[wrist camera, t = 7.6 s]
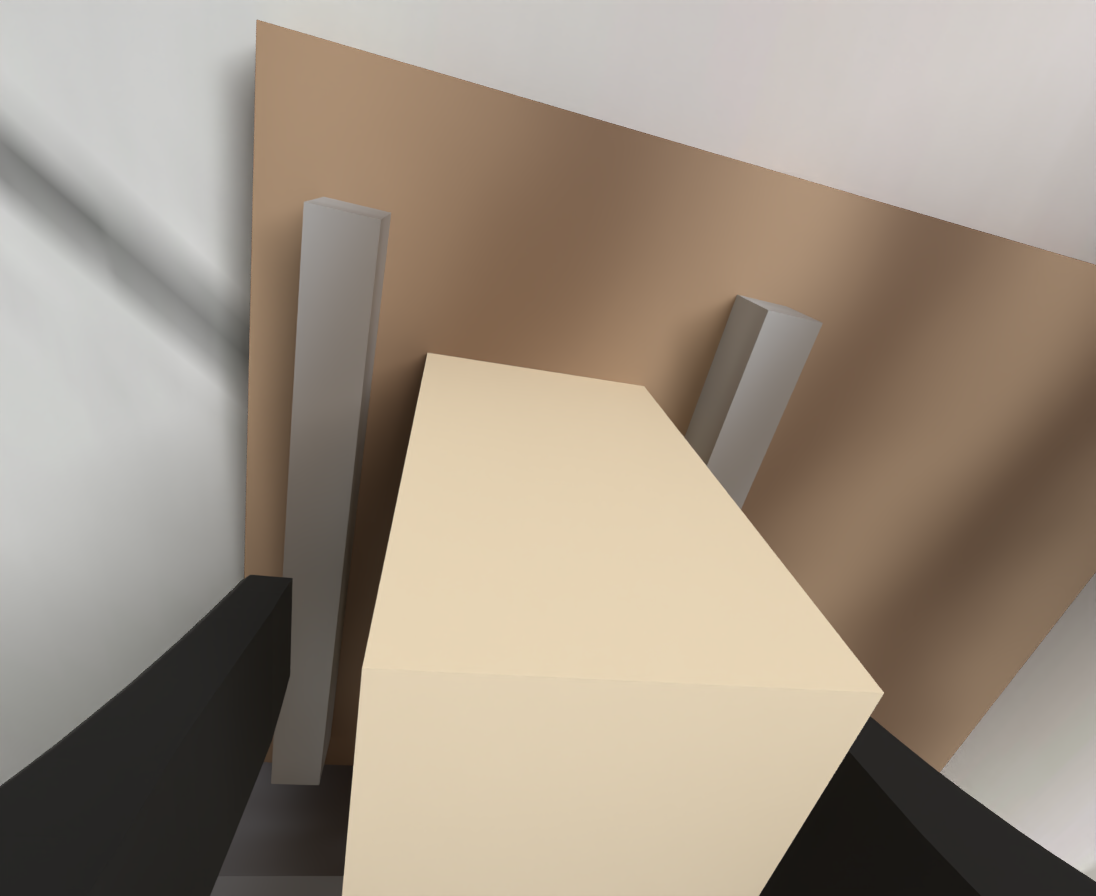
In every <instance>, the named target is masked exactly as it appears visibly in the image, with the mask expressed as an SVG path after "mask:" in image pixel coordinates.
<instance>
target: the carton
mask: <svg viewBox="0 0 1096 896" xmlns="http://www.w3.org/2000/svg"><path fill="white" fill-rule="evenodd" d="M883 694H884V692H883V691H882V690H881V688H880V687H879V686H878V684H877V683H876V682H875V681H874V679H873V678H872V677H871V675H870V674H869V673H868V672H867V670H866V669H865V668H864V667H863V665H862V664H861V663H860V661H859V660H858V659H857V658H856V656H855V655H854V654H853V652H852V651H851V650H850V649H849V647H848V646H847V645H846V644H845V642H844V641H843V640H842V638H841V637H840V636H839V635H838V633H837V632H836V631H835V629H834V628H833V627H832V626H831V624H830V623H829V622H828V621H827V619H826V618H825V617H824V615H823V614H822V613H821V612H820V610H819V609H818V608H817V606H816V605H815V604H814V603H813V601H812V600H811V599H810V598H809V596H808V595H807V594H806V592H805V591H804V590H803V589H802V587H801V586H800V585H799V583H798V582H797V581H796V580H795V578H794V577H793V576H792V575H791V573H790V572H789V571H788V569H787V568H786V567H785V566H784V564H783V563H782V562H781V560H780V559H779V558H778V557H777V555H776V554H775V553H774V552H773V550H772V549H771V548H770V546H769V545H768V544H767V543H766V541H765V540H764V539H763V537H762V536H761V535H760V534H759V532H758V531H757V530H756V529H755V527H754V526H753V525H752V523H751V522H750V521H749V520H748V518H747V517H746V516H745V514H744V513H743V512H742V511H741V509H740V508H739V507H738V505H737V504H736V503H735V502H734V500H733V499H732V498H731V497H730V495H729V494H728V493H727V491H726V490H725V489H724V488H723V486H722V485H721V484H720V482H719V481H718V480H717V479H716V477H715V476H714V475H713V474H712V472H711V471H710V470H709V468H708V467H707V466H706V465H705V463H704V462H703V461H702V459H701V458H700V457H699V456H698V454H697V453H696V452H695V451H694V449H693V448H692V447H691V445H690V444H689V443H688V442H687V440H686V439H685V438H684V436H683V435H682V434H681V433H680V431H679V430H678V429H677V428H676V426H675V425H674V424H673V422H672V421H671V420H670V419H669V417H668V416H667V415H666V413H665V412H664V411H663V410H662V408H661V407H660V406H659V405H658V403H657V402H656V401H655V399H654V398H653V397H652V396H651V394H650V393H649V392H648V390H647V389H646V388H645V387H644V386H639V385H633V384H626V383H620V382H613V381H607V380H600V379H594V378H587V377H581V376H575V375H568V374H562V373H555V372H549V371H542V370H536V369H530V368H523V367H517V366H510V365H504V364H497V363H491V362H484V361H478V360H472V359H465V358H459V357H452V356H446V355H439V354H433V353H427V358H426V363H425V367H424V372H423V377H422V382H421V387H420V392H419V396H418V401H417V406H416V411H415V416H414V420H413V425H412V430H411V435H410V440H409V445H408V449H407V454H406V459H405V464H404V469H403V474H402V478H401V483H400V488H399V493H398V498H397V502H396V507H395V512H394V517H393V522H392V527H391V531H390V536H389V541H388V546H387V551H386V556H385V560H384V565H383V570H382V575H381V580H380V584H379V589H378V594H377V599H376V604H375V609H374V613H373V618H372V623H371V628H370V633H369V638H368V642H367V647H366V652H365V657H364V662H363V666H362V675H361V687H360V698H359V709H358V721H357V732H356V743H355V754H354V766H353V777H352V788H351V800H350V811H349V822H348V833H347V845H346V856H345V867H344V879H343V890H342V896H759V895H760V893H761V891H762V890H763V888H764V887H765V885H766V883H767V882H768V880H769V878H770V877H771V875H772V874H773V872H774V870H775V869H776V867H777V866H778V864H779V862H780V861H781V859H782V857H783V856H784V854H785V853H786V851H787V849H788V848H789V846H790V844H791V843H792V841H793V840H794V838H795V836H796V835H797V833H798V832H799V830H800V828H801V827H802V825H803V823H804V822H805V820H806V819H807V817H808V815H809V814H810V812H811V811H812V809H813V807H814V806H815V804H816V802H817V801H818V799H819V798H820V796H821V794H822V793H823V791H824V789H825V788H826V786H827V785H828V783H829V781H830V780H831V778H832V777H833V775H834V773H835V772H836V770H837V768H838V767H839V765H840V764H841V762H842V760H843V759H844V757H845V756H846V754H847V752H848V751H849V749H850V747H851V746H852V744H853V743H854V741H855V739H856V738H857V736H858V734H859V733H860V731H861V730H862V728H863V726H864V725H865V723H866V722H867V720H868V718H869V717H870V715H871V713H872V712H873V710H874V709H875V707H876V705H877V704H878V702H879V701H880V699H881V697H882V696H883Z"/></svg>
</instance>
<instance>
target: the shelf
mask: <svg viewBox="0 0 1096 896" xmlns="http://www.w3.org/2000/svg"><path fill="white" fill-rule="evenodd" d="M427 353H433V354H439V355H446V356H452V357H459V358H465V359H472V360H478V361H484V362H491V363H497V364H504V365H510V366H517V367H523V368H530V369H536V370H542V371H549V372H555V373H562V374H568V375H575V376H581V377H587V378H594V379H600V380H607V381H613V382H620V383H626V384H633V385H639V386H644V387H645V388H646V389H647V390H648V392H649V393H650V394H651V396H652V397H653V398H654V399H655V401H656V402H657V403H658V405H659V406H660V407H661V408H662V410H663V411H664V412H665V413H666V415H667V416H668V417H669V419H670V420H671V421H672V422H673V424H674V425H675V426H676V428H677V429H678V430H679V431H680V433H681V434H682V435H683V436H684V438H685V439H686V440H687V442H688V443H689V444H690V445H691V447H692V448H693V449H694V451H695V452H696V453H697V454H698V456H699V457H700V458H701V459H702V461H703V462H704V463H705V465H706V466H707V467H708V468H709V470H710V471H711V472H712V474H713V475H714V476H715V477H716V479H717V480H718V481H719V482H720V484H721V485H722V486H723V488H724V489H725V490H726V491H727V493H728V494H729V495H730V497H731V498H732V499H733V500H734V502H735V503H736V504H737V505H738V507H739V508H740V509H741V511H742V512H743V513H744V514H745V516H746V517H747V518H748V520H749V521H750V522H751V523H752V525H753V526H754V527H755V529H756V530H757V531H758V532H759V534H760V535H761V536H762V537H763V539H764V540H765V541H766V543H767V544H768V545H769V546H770V548H771V549H772V550H773V552H774V553H775V554H776V555H777V557H778V558H779V559H780V560H781V562H782V563H783V564H784V566H785V567H786V568H787V569H788V571H789V572H790V573H791V575H792V576H793V577H794V578H795V580H796V581H797V582H798V583H799V585H800V586H801V587H802V589H803V590H804V591H805V592H806V594H807V595H808V596H809V598H810V599H811V600H812V601H813V603H814V604H815V605H816V606H817V608H818V609H819V610H820V612H821V613H822V614H823V615H824V617H825V618H826V619H827V621H828V622H829V623H830V624H831V626H832V627H833V628H834V629H835V631H836V632H837V633H838V635H839V636H840V637H841V638H842V640H843V641H844V642H845V644H846V645H847V646H848V647H849V649H850V650H851V651H852V652H853V654H854V655H855V656H856V658H857V659H858V660H859V661H860V663H861V664H862V665H863V667H864V668H865V669H866V670H867V672H868V673H869V674H870V675H871V677H872V678H873V679H874V681H875V682H876V683H877V684H878V686H879V687H880V688H881V690H882V691H883V692H884V694H883V696H882V697H881V699H880V701H879V702H878V704H877V705H876V707H875V709H874V710H873V712H872V713H871V715H870V716H871V717H872V718H873V719H874V720H876V721H877V722H878V723H879V724H880V725H881V726H883V727H884V728H885V729H886V730H887V731H889V732H890V733H891V734H892V735H893V736H895V737H896V738H897V739H898V740H900V741H901V742H902V743H903V744H905V745H906V746H907V747H908V748H910V749H911V750H912V751H913V752H914V753H916V754H917V755H918V756H919V757H921V758H922V759H923V760H924V761H926V762H927V763H928V764H929V765H931V766H932V767H933V768H934V769H936V770H937V771H938V772H939V773H940V771H941V770H942V769H943V767H944V766H945V765H946V764H947V762H948V761H949V760H950V758H951V757H952V756H953V755H954V753H955V752H956V751H957V749H958V748H959V747H960V746H961V744H962V743H963V742H964V740H965V739H966V738H967V737H968V735H969V734H970V733H971V732H972V730H973V729H974V728H975V726H976V725H977V724H978V723H979V721H980V720H981V719H982V717H983V716H984V715H985V714H986V712H987V711H988V710H989V708H990V707H991V706H992V705H993V703H994V702H995V701H996V699H997V698H998V697H999V696H1000V694H1001V693H1002V692H1003V690H1004V689H1005V688H1006V687H1007V685H1008V684H1009V683H1010V681H1011V680H1012V679H1013V678H1014V676H1015V675H1016V674H1017V672H1018V671H1019V670H1020V669H1021V667H1022V666H1023V665H1024V663H1025V662H1026V661H1027V660H1028V658H1029V657H1030V656H1031V654H1032V653H1033V652H1034V651H1035V649H1036V648H1037V647H1038V645H1039V644H1040V643H1041V642H1042V640H1043V639H1044V638H1045V636H1046V635H1047V634H1048V633H1049V631H1050V630H1051V629H1052V627H1053V626H1054V625H1055V624H1056V622H1057V621H1058V620H1059V618H1060V617H1061V616H1062V615H1063V613H1064V612H1065V611H1066V609H1067V608H1068V607H1069V606H1070V604H1071V603H1072V602H1073V600H1074V599H1075V598H1076V597H1077V595H1078V594H1079V593H1080V592H1081V590H1082V589H1083V588H1084V586H1085V585H1086V584H1087V583H1088V581H1089V580H1090V579H1091V577H1092V576H1093V575H1094V574H1095V572H1096V265H1094V264H1091V263H1088V262H1084V261H1081V260H1077V259H1074V258H1070V257H1067V256H1064V255H1060V254H1057V253H1053V252H1050V251H1047V250H1043V249H1040V248H1036V247H1033V246H1029V245H1026V244H1023V243H1019V242H1016V241H1012V240H1009V239H1005V238H1002V237H999V236H995V235H992V234H988V233H985V232H982V231H978V230H975V229H971V228H968V227H964V226H961V225H958V224H954V223H951V222H947V221H944V220H940V219H937V218H934V217H930V216H927V215H923V214H920V213H917V212H913V211H910V210H906V209H903V208H899V207H896V206H893V205H889V204H886V203H882V202H879V201H875V200H872V199H869V198H865V197H862V196H858V195H855V194H852V193H848V192H845V191H841V190H838V189H834V188H831V187H828V186H824V185H821V184H817V183H814V182H810V181H807V180H804V179H800V178H797V177H793V176H790V175H787V174H783V173H780V172H776V171H773V170H769V169H766V168H763V167H759V166H756V165H752V164H749V163H745V162H742V161H739V160H735V159H732V158H728V157H725V156H722V155H718V154H715V153H711V152H708V151H704V150H701V149H698V148H694V147H691V146H687V145H684V144H681V143H677V142H674V141H670V140H667V139H663V138H660V137H657V136H653V135H650V134H646V133H643V132H639V131H636V130H633V129H629V128H626V127H622V126H619V125H616V124H612V123H609V122H605V121H602V120H598V119H595V118H592V117H588V116H585V115H581V114H578V113H574V112H571V111H568V110H564V109H561V108H557V107H554V106H551V105H547V104H544V103H540V102H537V101H533V100H530V99H527V98H523V97H520V96H516V95H513V94H509V93H506V92H503V91H499V90H496V89H492V88H489V87H486V86H482V85H479V84H475V83H472V82H468V81H465V80H462V79H458V78H455V77H451V76H448V75H444V74H441V73H438V72H434V71H431V70H427V69H424V68H421V67H417V66H414V65H410V64H407V63H403V62H400V61H397V60H393V59H390V58H386V57H383V56H379V55H376V54H373V53H369V52H366V51H362V50H359V49H356V48H352V47H349V46H345V45H342V44H338V43H335V42H332V41H328V40H325V39H321V38H318V37H315V36H311V35H308V34H304V33H301V32H297V31H294V30H291V29H287V28H284V27H280V26H277V25H273V24H270V23H267V22H263V21H260V20H257V24H256V69H255V114H254V159H253V204H252V249H251V294H250V338H249V383H248V428H247V473H246V518H245V563H244V579H245V578H246V577H247V576H249V575H261V576H274V577H286V578H293V583H292V625H291V666H290V678H289V682H288V685H287V689H286V693H285V696H284V700H283V704H282V707H281V711H280V714H279V718H278V721H277V725H276V728H275V732H274V735H273V739H272V742H271V744H270V747H269V750H268V752H267V755H266V757H265V760H264V762H263V765H262V767H261V770H260V772H259V775H258V778H257V780H256V783H255V785H254V788H253V790H252V793H251V795H250V798H249V800H248V803H247V805H246V808H245V810H244V813H243V815H242V818H241V820H240V823H239V825H238V828H237V830H236V833H235V835H234V838H233V840H232V843H231V845H230V848H229V850H228V853H227V855H226V858H225V860H224V863H223V865H222V868H221V870H220V873H219V875H218V878H217V880H216V883H215V885H214V888H213V890H212V893H211V895H210V896H342V890H343V879H344V867H345V856H346V845H347V833H348V822H349V811H350V800H351V788H352V777H353V766H354V754H355V743H356V732H357V721H358V709H359V698H360V687H361V675H362V666H363V662H364V657H365V652H366V647H367V642H368V638H369V633H370V628H371V623H372V618H373V613H374V609H375V604H376V599H377V594H378V589H379V584H380V580H381V575H382V570H383V565H384V560H385V556H386V551H387V546H388V541H389V536H390V531H391V527H392V522H393V517H394V512H395V507H396V502H397V498H398V493H399V488H400V483H401V478H402V474H403V469H404V464H405V459H406V454H407V449H408V445H409V440H410V435H411V430H412V425H413V420H414V416H415V411H416V406H417V401H418V396H419V392H420V387H421V382H422V377H423V372H424V367H425V363H426V358H427Z"/></svg>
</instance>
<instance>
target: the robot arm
mask: <svg viewBox="0 0 1096 896" xmlns="http://www.w3.org/2000/svg"><path fill="white" fill-rule="evenodd" d="M292 583H293V578H286V577H274V576H261V575H249V576H247V577H246V578H245V579H243V580H242V581H241V582H240V583H239V584H238V585H237V586H236V587H235V588H234V589H233V590H232V591H231V592H230V593H228V594H227V595H226V596H225V597H224V598H223V599H222V600H221V601H220V602H219V603H218V604H217V605H216V606H215V607H214V608H213V609H212V610H211V611H210V612H209V613H208V614H207V615H206V616H205V617H204V618H203V619H201V620H200V621H199V622H198V623H197V624H196V625H195V626H194V627H193V628H192V629H191V630H190V631H189V632H188V633H186V634H185V635H184V636H183V637H182V638H181V639H180V640H179V641H178V642H177V643H176V644H174V645H173V646H172V647H171V648H170V649H169V650H168V651H167V652H165V653H164V654H163V655H162V656H161V657H160V658H159V659H157V660H156V661H155V662H154V663H153V664H152V665H151V666H150V667H148V668H147V669H146V670H145V671H144V672H143V673H142V674H141V675H139V676H138V677H137V678H136V679H135V680H134V681H133V682H131V683H130V684H129V685H128V686H127V687H126V688H124V689H123V690H122V691H121V692H120V693H118V694H117V695H116V696H115V697H113V698H112V699H111V700H110V701H109V702H107V703H106V704H105V705H104V706H102V707H101V708H100V709H99V710H97V711H96V712H95V713H94V714H93V715H91V716H90V717H89V718H88V719H86V720H85V721H84V722H83V723H81V724H80V725H79V726H78V727H77V728H75V729H74V730H73V731H72V732H70V733H69V734H68V735H67V736H65V737H64V738H63V739H62V740H60V741H59V742H58V743H57V744H55V745H54V746H53V747H52V748H50V749H49V750H48V751H46V752H45V753H44V754H42V755H41V756H40V757H38V758H37V759H36V760H35V761H33V762H32V763H31V764H29V765H28V766H27V767H25V768H24V769H23V770H21V771H20V772H19V773H17V774H16V775H15V776H13V777H12V778H11V779H9V780H8V781H7V782H5V783H4V784H3V785H1V786H0V896H210V895H211V893H212V890H213V888H214V885H215V883H216V880H217V878H218V875H219V873H220V870H221V868H222V865H223V863H224V860H225V858H226V855H227V853H228V850H229V848H230V845H231V843H232V840H233V838H234V835H235V833H236V830H237V828H238V825H239V823H240V820H241V818H242V815H243V813H244V810H245V808H246V805H247V803H248V800H249V798H250V795H251V793H252V790H253V788H254V785H255V783H256V780H257V778H258V775H259V772H260V770H261V767H262V765H263V762H264V760H265V757H266V755H267V752H268V750H269V747H270V744H271V742H272V739H273V735H274V732H275V728H276V725H277V721H278V718H279V714H280V711H281V707H282V704H283V700H284V696H285V693H286V689H287V685H288V682H289V678H290V666H291V625H292ZM759 896H1096V882H1095V881H1094V880H1092V879H1091V878H1089V877H1088V876H1086V875H1085V874H1083V873H1081V872H1080V871H1078V870H1077V869H1075V868H1074V867H1072V866H1071V865H1069V864H1068V863H1066V862H1065V861H1063V860H1061V859H1060V858H1058V857H1057V856H1055V855H1054V854H1052V853H1051V852H1049V851H1048V850H1046V849H1045V848H1043V847H1042V846H1040V845H1039V844H1037V843H1036V842H1035V841H1033V840H1032V839H1030V838H1029V837H1027V836H1026V835H1024V834H1023V833H1021V832H1020V831H1019V830H1017V829H1016V828H1014V827H1013V826H1011V825H1010V824H1009V823H1007V822H1006V821H1005V820H1003V819H1002V818H1000V817H999V816H998V815H996V814H995V813H993V812H992V811H991V810H989V809H988V808H987V807H985V806H984V805H982V804H981V803H980V802H978V801H977V800H976V799H974V798H973V797H971V796H970V795H969V794H967V793H966V792H965V791H963V790H962V789H960V788H959V787H958V786H957V785H955V784H954V783H953V782H951V781H950V780H949V779H947V778H946V777H945V776H943V775H942V774H941V773H939V772H938V771H937V770H936V769H934V768H933V767H932V766H931V765H929V764H928V763H927V762H926V761H924V760H923V759H922V758H921V757H919V756H918V755H917V754H916V753H914V752H913V751H912V750H911V749H910V748H908V747H907V746H906V745H905V744H903V743H902V742H901V741H900V740H898V739H897V738H896V737H895V736H893V735H892V734H891V733H890V732H889V731H887V730H886V729H885V728H884V727H883V726H881V725H880V724H879V723H878V722H877V721H876V720H874V719H873V718H872V717H871V716H870V717H869V718H868V720H867V722H866V723H865V725H864V726H863V728H862V730H861V731H860V733H859V734H858V736H857V738H856V739H855V741H854V743H853V744H852V746H851V747H850V749H849V751H848V752H847V754H846V756H845V757H844V759H843V760H842V762H841V764H840V765H839V767H838V768H837V770H836V772H835V773H834V775H833V777H832V778H831V780H830V781H829V783H828V785H827V786H826V788H825V789H824V791H823V793H822V794H821V796H820V798H819V799H818V801H817V802H816V804H815V806H814V807H813V809H812V811H811V812H810V814H809V815H808V817H807V819H806V820H805V822H804V823H803V825H802V827H801V828H800V830H799V832H798V833H797V835H796V836H795V838H794V840H793V841H792V843H791V844H790V846H789V848H788V849H787V851H786V853H785V854H784V856H783V857H782V859H781V861H780V862H779V864H778V866H777V867H776V869H775V870H774V872H773V874H772V875H771V877H770V878H769V880H768V882H767V883H766V885H765V887H764V888H763V890H762V891H761V893H760V895H759Z"/></svg>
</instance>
